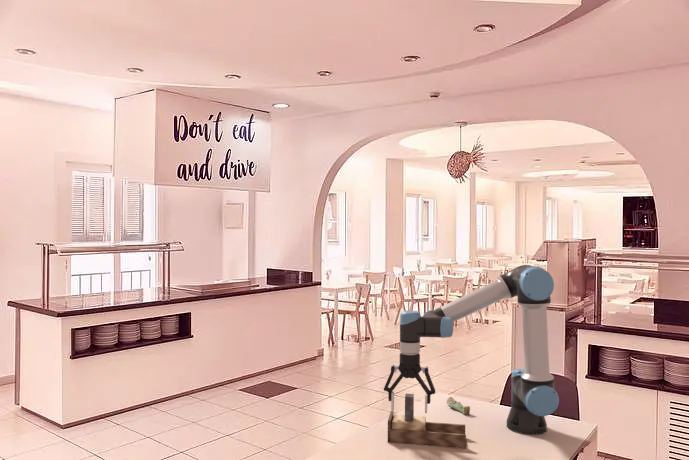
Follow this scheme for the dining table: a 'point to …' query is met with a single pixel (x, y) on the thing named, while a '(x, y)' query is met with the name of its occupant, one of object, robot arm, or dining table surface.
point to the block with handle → (409, 417)
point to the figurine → (458, 406)
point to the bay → (429, 435)
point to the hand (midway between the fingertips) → (409, 411)
